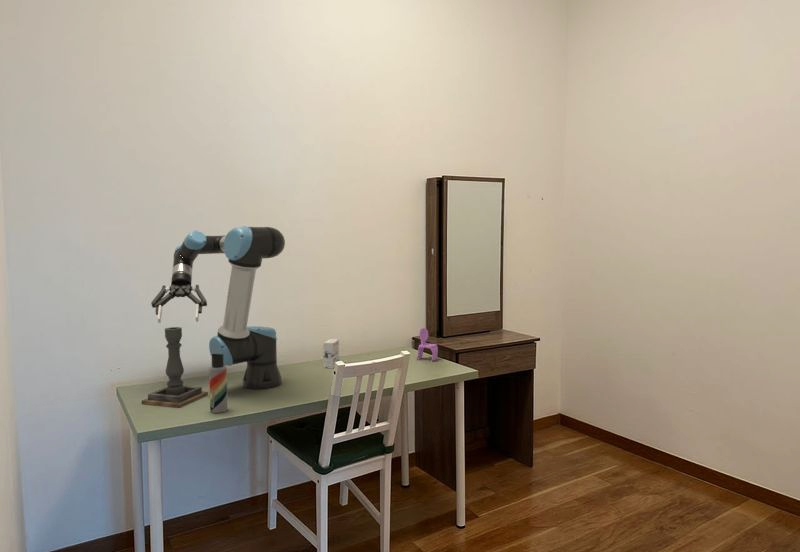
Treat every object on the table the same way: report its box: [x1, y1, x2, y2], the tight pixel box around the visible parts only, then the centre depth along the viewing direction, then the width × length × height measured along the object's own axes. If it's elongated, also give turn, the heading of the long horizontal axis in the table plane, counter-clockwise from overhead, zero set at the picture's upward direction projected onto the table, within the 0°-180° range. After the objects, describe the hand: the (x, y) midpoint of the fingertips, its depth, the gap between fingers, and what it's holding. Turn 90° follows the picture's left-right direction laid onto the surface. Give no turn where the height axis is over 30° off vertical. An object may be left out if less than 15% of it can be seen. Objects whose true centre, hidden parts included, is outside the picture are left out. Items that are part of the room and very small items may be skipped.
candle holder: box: [164, 326, 185, 396], centre depth 203 cm, size 6×6×25 cm
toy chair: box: [415, 327, 439, 362], centre depth 265 cm, size 8×9×15 cm
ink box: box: [322, 338, 340, 369], centre depth 253 cm, size 9×5×12 cm, turn 168°
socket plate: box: [141, 385, 209, 409], centre depth 203 cm, size 16×16×3 cm
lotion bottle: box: [208, 354, 229, 414], centre depth 190 cm, size 6×6×20 cm
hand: (178, 320), depth 213 cm, fingers open, 13 cm apart
